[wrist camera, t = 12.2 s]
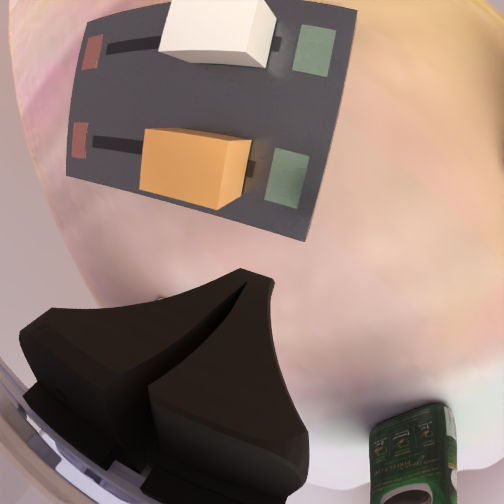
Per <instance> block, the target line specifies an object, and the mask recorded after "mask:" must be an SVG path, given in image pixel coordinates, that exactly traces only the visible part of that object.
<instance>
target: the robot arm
mask: <svg viewBox="0 0 504 504" xmlns="http://www.w3.org/2000/svg"><path fill="white" fill-rule="evenodd" d="M274 284H275V282H274V280H273V279H272V278H269V277H266V276H263V275H260V274H257V273H254V272H251V271H248V270H245V269H242V268H239V269H237V270H235V271H233V272H231V273H229V274H226V275H224V276H222V277H220V278H218V279H216V280H214V281H211V282H209V283H207V284H205V285H202V286H200V287H197V288H194V289H192V290H189V291H186V292H184V293H181V294H178V295H175V296H171V297H168V298H164V299H163V298H159V299H158V300H156V301H152V302H148V303H142V304H136V305H130V306H124V307H115V308H102V309H65V308H51V309H49V310H48V311H46V312H45V313H44V314H42V315H41V316H40V317H38V318H37V319H36V320H34V321H33V322H31V323H30V324H29V325H27V326H26V327H25V328H24V329H22V330H21V331H20V335H19V341H20V346H21V348H22V351H23V353H24V355H25V357H26V359H27V362H28V364H29V365H30V368H31V370H32V371H33V373H34V375H35V377H36V379H37V382H36V383H35V384H34V385H33V386H32V387H31V388H30V389H28V388H27V387H26V386H25V385H24V384H23V383H22V382H21V380H19V378H18V377H17V376H16V375H15V374H14V373H13V372H12V370H11V369H10V368H9V367H8V366H7V365H6V364H5V362H4V361H3V360H2V359H1V357H0V504H285V502H286V500H287V497H288V496H289V495H291V494H292V493H294V492H295V491H297V490H298V489H299V488H301V487H302V486H303V484H304V483H305V482H306V479H307V475H308V468H309V436H308V431H307V429H306V427H305V425H304V423H303V422H302V420H301V418H300V416H299V414H298V412H297V410H296V408H295V406H294V404H293V401H292V399H291V397H290V395H289V392H288V390H287V387H286V384H285V381H284V379H283V376H282V373H281V370H280V367H279V364H278V360H277V356H276V352H275V347H274V342H273V336H272V328H271V316H270V300H271V295H272V291H273V288H274ZM26 414H27V415H28V416H29V417H30V418H31V419H32V420H33V421H34V422H35V423H36V424H37V425H38V426H39V427H40V428H41V430H40V432H39V433H38V432H37V431H36V430H35V428H33V426H32V425H31V424H30V423H29V422H28V421H27V420H26V419H27V416H26Z"/></svg>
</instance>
